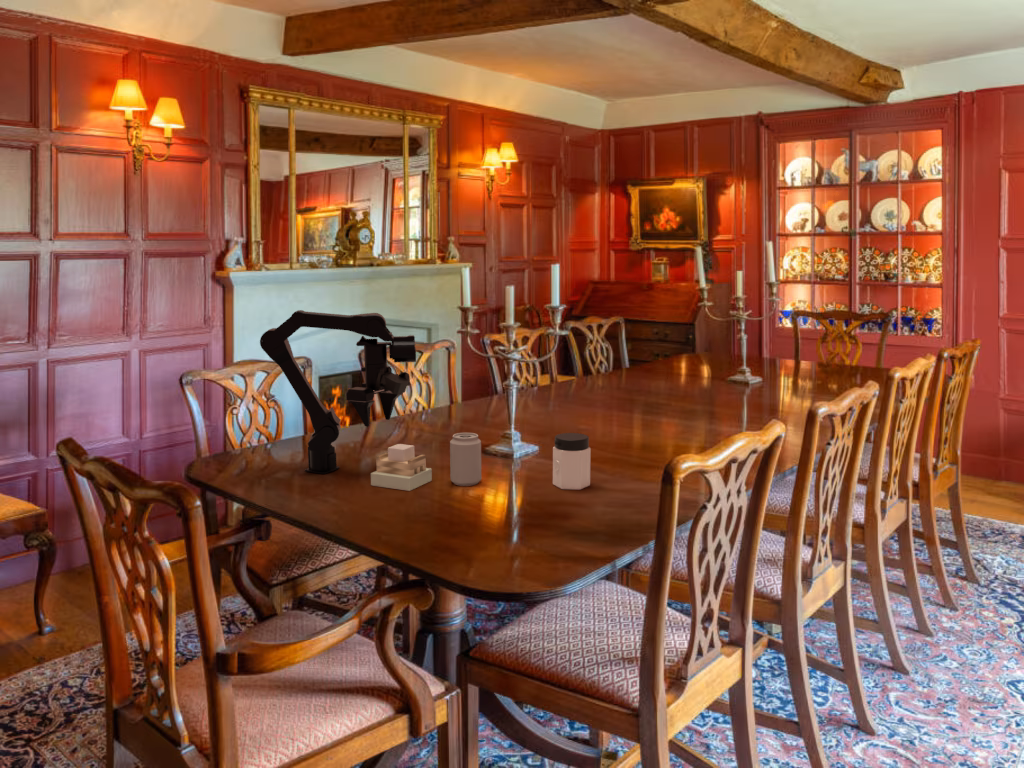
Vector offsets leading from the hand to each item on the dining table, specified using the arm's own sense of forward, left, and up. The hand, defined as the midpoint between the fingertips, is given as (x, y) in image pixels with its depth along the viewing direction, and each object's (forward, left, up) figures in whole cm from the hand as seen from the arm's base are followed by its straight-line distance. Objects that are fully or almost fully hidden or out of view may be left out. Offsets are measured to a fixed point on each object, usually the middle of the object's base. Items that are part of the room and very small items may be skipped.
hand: (377, 423), depth 219 cm
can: (+27, -2, -12) cm, 30 cm away
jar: (+51, +7, -12) cm, 53 cm away
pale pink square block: (+13, -9, -6) cm, 17 cm away
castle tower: (+13, -9, -9) cm, 18 cm away
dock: (+13, -9, -12) cm, 20 cm away
